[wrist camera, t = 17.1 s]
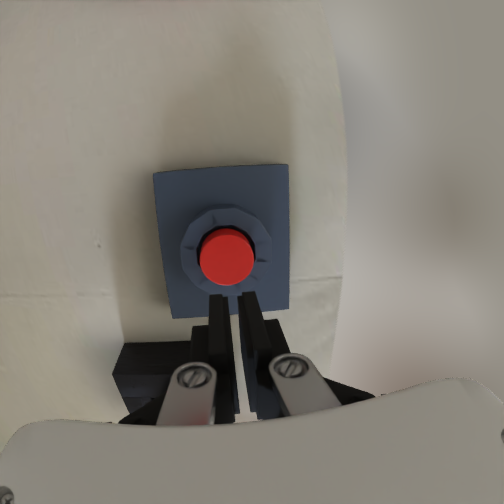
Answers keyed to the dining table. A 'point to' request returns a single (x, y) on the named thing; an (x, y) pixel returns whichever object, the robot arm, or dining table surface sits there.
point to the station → (219, 217)
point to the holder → (147, 370)
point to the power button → (226, 257)
